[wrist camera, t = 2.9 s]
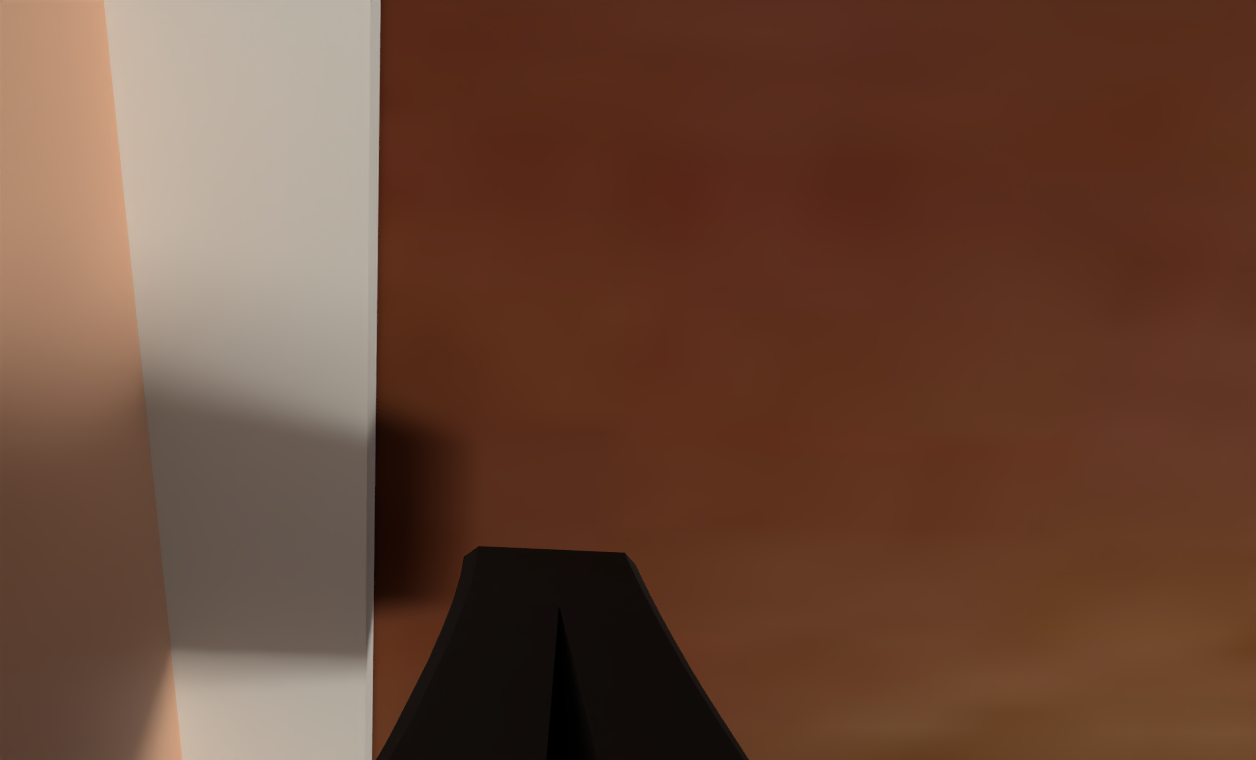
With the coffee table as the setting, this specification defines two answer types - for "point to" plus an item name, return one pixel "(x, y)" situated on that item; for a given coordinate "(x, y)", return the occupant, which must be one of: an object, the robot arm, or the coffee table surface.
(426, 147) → the coffee table surface
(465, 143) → the coffee table surface
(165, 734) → the t block
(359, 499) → the push mat
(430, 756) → the robot arm
